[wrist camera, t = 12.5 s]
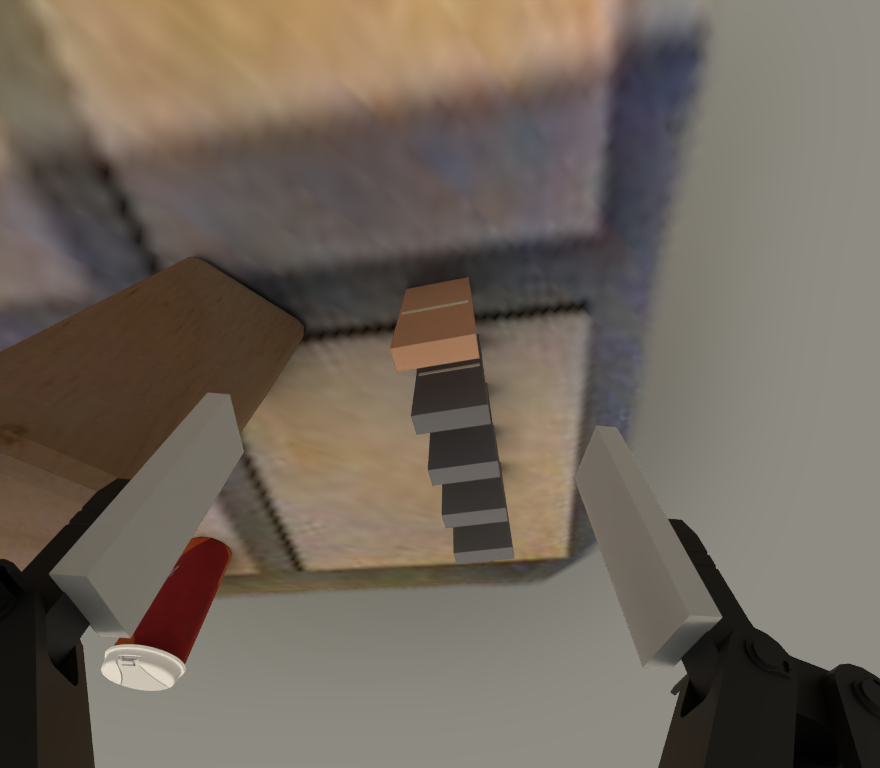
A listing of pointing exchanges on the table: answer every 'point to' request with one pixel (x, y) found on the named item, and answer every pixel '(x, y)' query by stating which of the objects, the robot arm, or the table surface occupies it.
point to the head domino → (435, 326)
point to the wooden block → (125, 390)
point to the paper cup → (170, 621)
